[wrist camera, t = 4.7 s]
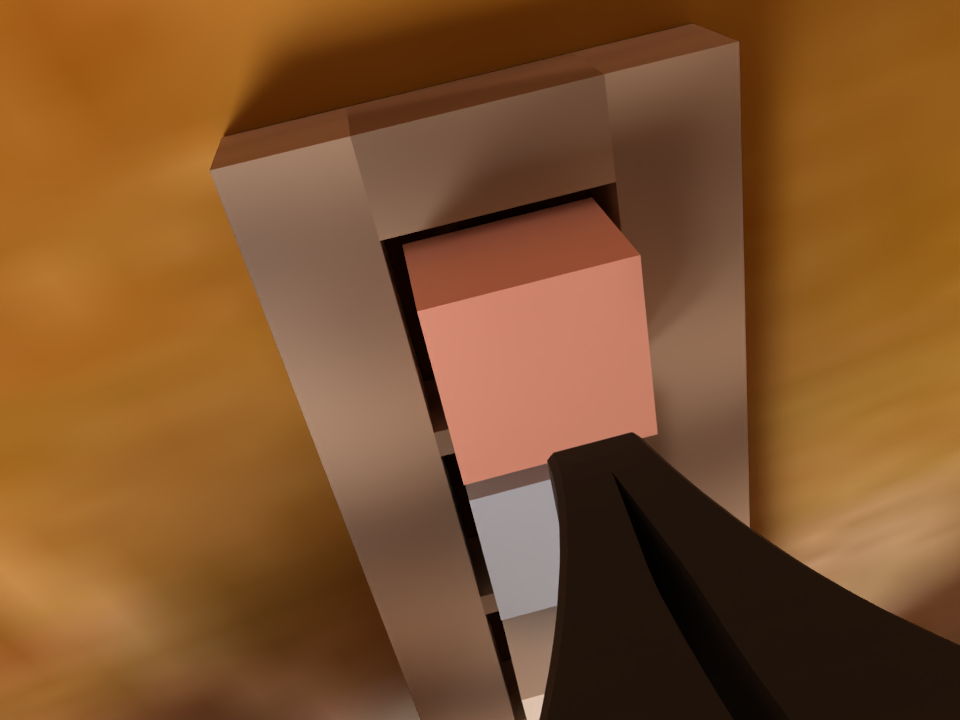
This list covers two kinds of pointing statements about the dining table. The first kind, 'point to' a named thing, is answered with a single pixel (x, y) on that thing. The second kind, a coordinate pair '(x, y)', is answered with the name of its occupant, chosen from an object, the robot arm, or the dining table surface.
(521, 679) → the ivory key
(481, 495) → the slate key
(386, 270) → the walnut bezel
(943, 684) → the robot arm
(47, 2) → the dining table surface
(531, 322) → the brick key
